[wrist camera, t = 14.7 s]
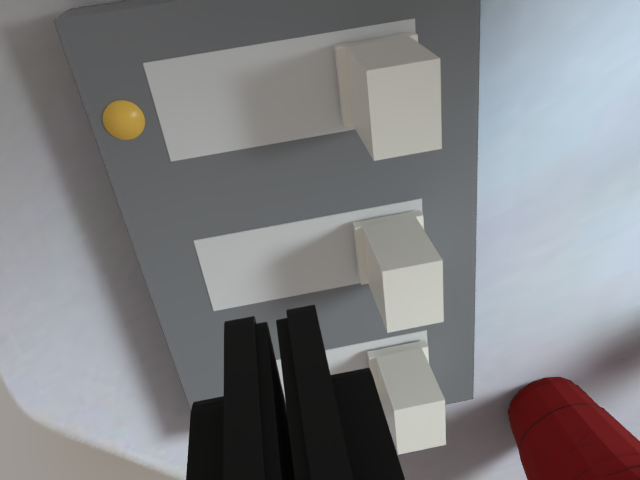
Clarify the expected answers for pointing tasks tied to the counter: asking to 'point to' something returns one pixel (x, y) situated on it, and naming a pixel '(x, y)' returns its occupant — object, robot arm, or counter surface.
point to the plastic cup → (570, 435)
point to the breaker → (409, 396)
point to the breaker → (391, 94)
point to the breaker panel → (275, 169)
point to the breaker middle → (400, 270)
